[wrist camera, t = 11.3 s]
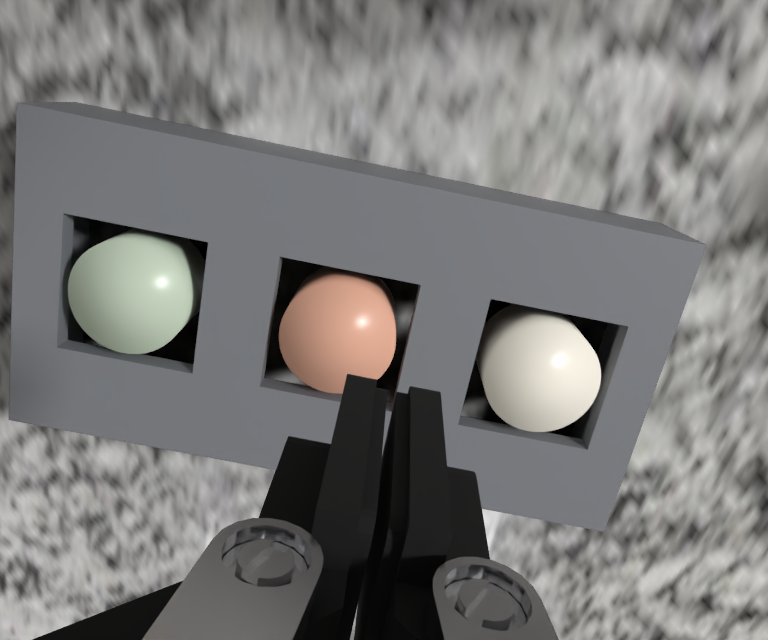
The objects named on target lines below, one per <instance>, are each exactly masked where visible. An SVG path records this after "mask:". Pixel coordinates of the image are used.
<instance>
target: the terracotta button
mask: <svg viewBox="0 0 768 640" xmlns="http://www.w3.org/2000/svg"><path fill="white" fill-rule="evenodd" d="M279 344H280V350H281V353H282V356H283V358H284V360H285V362H286V364H287V366H288V367H289V369H290V370H291V371H292V372H293V373H294V375H295V376H296V377H298V378H299V379H300V380H301V381H302V382H304V383H305V384H307V385H309V386H310V387H312V388H315V389H317V390H320V391H324V392H328V393H339V394H343V390H344V385H345V381H346V377H347V374H351V375H356V376H361V377H366V378H372V379H377V380H378V379H379V378H380V377H381V376H382V375H383V374H384V372H385V371H386V370H387V368H388V367H389V365H390V363H391V361H392V359H393V356H394V352H395V347H396V305H395V301H394V298H393V296H392V294H391V292H390V290H389V288H388V287H387V285H386V284H385V283H384V282H383V281H382V280H381V279H380V278H379V277H378V276H374V275H369V274H364V273H359V272H354V271H349V270H344V269H339V268H334V267H329V266H325V267H323V268H320V269H318V270H316V271H315V272H313V273H312V274H310V275H309V276H308V277H307V278H306V279H305V280H304V281H303V282H302V283H301V285H300V286H299V288H298V290H297V291H296V293H295V295H294V297H293V299H292V301H291V302H290V304H289V306H288V308H287V310H286V311H285V313H284V315H283V318H282V320H281V324H280V328H279Z"/></svg>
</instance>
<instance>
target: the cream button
mask: <svg viewBox="0 0 768 640" xmlns="http://www.w3.org/2000/svg"><path fill="white" fill-rule="evenodd" d="M476 361H477V365H478V369H479V372H480V376H481V379H482V383H483V386H484V390H485V393H486V396H487V399H488V401H489V404H490V405H491V407H492V409H493V410H494V411H495V413H496V414H497V415H498V416H499V417H500V418H501V419H502V420H504V421H505V422H506V423H508V424H510V425H512V426H513V427H516V428H518V429H521V430H525V431H531V432H547V431H553V430H557V429H560V428H563V427H565V426H567V425H569V424H571V423H573V422H574V421H576V420H577V419H579V418H580V417H581V416H582V415H583V414H584V413H585V412H586V411H587V410H588V409H589V408H590V406H591V405H592V404H593V402H594V400H595V398H596V396H597V394H598V391H599V387H600V382H601V368H600V363H599V360H598V357H597V355H596V353H595V351H594V349H593V348H592V347H591V345H590V344H589V343H588V341H587V340H586V339H585V337H584V336H583V335H582V334H581V332H580V331H579V330H578V328H577V327H576V326H575V325H574V323H573V322H572V321H571V319H570V318H569V317H568V316H567V315H566V314H564V313H559V312H554V311H549V310H544V309H539V308H534V307H529V306H524V305H519V304H513V305H510V306H507V307H505V308H504V309H502V310H500V311H499V312H497V313H496V314H495V315H493V316H492V317H491V318H490V319H489V320H488V322H487V323H486V324H485V326H484V327H483V331H482V335H481V338H480V342H479V346H478V350H477V354H476Z"/></svg>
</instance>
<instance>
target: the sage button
mask: <svg viewBox="0 0 768 640" xmlns="http://www.w3.org/2000/svg"><path fill="white" fill-rule="evenodd" d="M204 273H205V261H204V259H203V257H202V255H201V254H200V252H199V251H198V249H197V248H196V247H195V246H194V244H193V243H192V242H191V241H189V240H188V239H187V238H184V237H179V236H174V235H169V234H164V233H159V232H154V231H149V230H144V229H139V228H131V229H129V230H127V231H125V232H123V233H120V234H118V235H116V236H114V237H112V238H110V239H108V240H106V241H103V242H101V243H99V244H97V245H95V246H93V247H92V248H90V249H88V250H87V251H86V252H85V253H83V254H82V255H81V256H80V258H79V259H78V260H77V261H76V263H75V265H74V266H73V268H72V271H71V273H70V277H69V281H68V298H69V304H70V307H71V310H72V312H73V315H74V317H75V319H76V320H77V322H78V324H79V325H80V326H81V328H82V329H83V330H84V331H85V332H86V333H87V334H88V335H89V336H90V337H91V338H92V339H93V340H95V341H96V342H98V343H99V344H101V345H102V346H104V347H106V348H108V349H111V350H114V351H117V352H121V353H126V354H143V353H148V352H152V351H154V350H157V349H159V348H161V347H163V346H165V345H166V344H167V343H168V342H170V341H171V340H172V339H173V338H174V337H175V336H176V335H177V334H178V333H179V332H180V330H181V329H182V328H183V327H184V326H185V325H186V324H187V323H188V322H189V321H190V320H191V319H192V318H193V317H194V316H195V315H196V314H197V313H198V312H199V310H200V306H201V298H202V289H203V281H204Z"/></svg>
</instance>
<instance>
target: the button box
mask: <svg viewBox="0 0 768 640" xmlns="http://www.w3.org/2000/svg"><path fill="white" fill-rule="evenodd" d="M91 219H94V220H99V221H104V222H109V223H114V224H119V225H124V226H129V227H134V228H139V229H144V230H149V231H154V232H159V233H164V234H169V235H174V236H179V237H184V238H189V239H194V240H199V241H204V242H208V248H207V256H206V264H205V273H204V281H203V289H202V298H201V306H200V315H199V323H198V331H197V340H196V348H195V357H194V364H190V363H185V362H180V361H175V360H169V359H164V358H159V357H154V356H149V355H144V354H126V353H121V352H117V351H114V350H111V349H108V348H106V347H102V346H97V345H92V344H87V343H83V333H84V330H83V329H82V328H81V326H80V325H79V324H78V322H77V320H76V319H75V317H74V315H73V312H72V310H71V307H70V304H69V298H68V281H69V277H70V273H71V271H72V268H73V266H74V265H75V263H76V261H77V260H78V259H79V258H80V256H81V255H82V254H83V253H85V252H86V251H87V250H88V249H89V237H90V221H91ZM705 248H706V244H704V243H702V242H700V241H697V240H695V239H693V238H691V237H689V236H687V235H685V234H683V233H680V232H678V231H676V230H674V229H672V228H670V227H668V226H666V225H663V224H661V223H657V222H652V221H647V220H642V219H637V218H632V217H628V216H623V215H618V214H613V213H608V212H603V211H599V210H594V209H589V208H584V207H579V206H574V205H570V204H565V203H560V202H555V201H550V200H545V199H541V198H536V197H531V196H526V195H521V194H517V193H512V192H507V191H502V190H497V189H492V188H488V187H483V186H478V185H473V184H468V183H463V182H459V181H454V180H449V179H444V178H439V177H434V176H430V175H425V174H420V173H415V172H410V171H405V170H401V169H396V168H391V167H386V166H381V165H376V164H372V163H367V162H362V161H357V160H352V159H347V158H343V157H338V156H333V155H328V154H323V153H318V152H314V151H309V150H304V149H299V148H294V147H289V146H285V145H280V144H275V143H270V142H265V141H260V140H256V139H251V138H246V137H241V136H236V135H231V134H227V133H222V132H217V131H212V130H207V129H202V128H198V127H193V126H188V125H183V124H178V123H173V122H169V121H164V120H159V119H154V118H149V117H145V116H140V115H135V114H130V113H125V112H120V111H116V110H111V109H106V108H101V107H96V106H91V105H87V104H82V103H77V102H31V103H17V118H16V156H15V195H14V234H13V272H12V311H11V350H10V388H9V420H13V421H18V422H23V423H29V424H34V425H39V426H45V427H50V428H55V429H61V430H66V431H71V432H76V433H82V434H87V435H92V436H98V437H103V438H108V439H114V440H119V441H124V442H130V443H135V444H140V445H146V446H151V447H156V448H162V449H167V450H172V451H178V452H183V453H188V454H194V455H199V456H204V457H210V458H215V459H220V460H226V461H231V462H236V463H242V464H247V465H252V466H258V467H263V468H268V469H274V470H276V468H277V466H278V463H279V460H280V457H281V455H282V452H283V449H284V446H285V443H286V441H287V438H288V436H292V437H297V438H302V439H307V440H313V441H318V442H323V443H328V444H331V442H332V437H333V433H334V429H335V424H336V420H337V416H338V411H339V407H340V403H341V398H342V394H339V393H328V392H324V391H320V390H317V389H315V388H312V387H309V386H304V385H299V384H294V383H289V382H283V381H278V380H273V379H268V378H264V375H265V368H266V362H267V355H268V349H269V343H270V336H271V330H272V323H273V317H274V310H275V304H276V298H277V291H278V285H279V278H280V272H281V266H282V259H283V257H284V258H289V259H294V260H299V261H304V262H309V263H314V264H319V265H324V266H329V267H334V268H339V269H344V270H349V271H354V272H359V273H364V274H369V275H374V276H379V277H384V278H389V279H394V280H399V281H404V282H409V283H414V284H419V287H418V292H417V296H416V301H415V305H414V310H413V314H412V318H411V323H410V327H409V332H408V336H407V341H406V345H405V350H404V354H403V359H402V363H401V367H400V372H399V376H398V381H397V385H396V390H395V394H394V399H393V403H392V402H386V414H385V425H384V437H383V448H382V455H383V450H384V445H385V441H386V436H387V432H388V427H389V423H390V418H391V414H392V409H393V405H394V400H395V396H396V393H397V392H401V393H406V394H408V390H409V387H410V386H413V387H418V388H423V389H428V390H433V391H439V392H440V393H441V401H442V413H443V424H444V436H445V447H446V459H447V466H448V467H454V468H459V469H464V470H469V471H474V472H475V473H476V477H477V483H478V489H479V495H480V501H481V508H482V509H487V510H492V511H497V512H503V513H508V514H513V515H519V516H524V517H529V518H535V519H540V520H545V521H551V522H556V523H561V524H567V525H572V526H577V527H582V528H588V529H593V530H598V531H604V530H605V527H606V525H607V522H608V519H609V516H610V513H611V511H612V508H613V505H614V502H615V500H616V497H617V494H618V491H619V488H620V486H621V483H622V480H623V477H624V474H625V472H626V469H627V466H628V463H629V460H630V458H631V455H632V452H633V449H634V446H635V444H636V441H637V438H638V435H639V432H640V430H641V427H642V424H643V421H644V418H645V416H646V413H647V410H648V407H649V405H650V402H651V399H652V396H653V393H654V391H655V388H656V385H657V382H658V379H659V377H660V374H661V371H662V368H663V365H664V363H665V360H666V357H667V354H668V351H669V349H670V346H671V343H672V340H673V337H674V335H675V332H676V329H677V326H678V324H679V321H680V318H681V315H682V312H683V310H684V307H685V304H686V301H687V298H688V296H689V293H690V290H691V287H692V284H693V282H694V279H695V276H696V273H697V270H698V268H699V265H700V262H701V259H702V256H703V254H704V251H705ZM491 299H494V300H499V301H504V302H509V303H514V304H519V305H524V306H529V307H534V308H539V309H544V310H549V311H554V312H559V313H564V314H569V315H574V316H579V317H584V318H589V319H594V320H599V321H603V322H608V323H607V326H606V329H605V332H604V335H603V339H602V342H601V345H600V348H599V351H598V354H597V357H598V360H599V363H600V368H601V382H600V387H599V391H598V394H597V396H596V398H595V400H594V402H593V404H592V405H591V406H590V408H589V409H588V410H587V411H586V412H585V413H584V414H583V415H582V416H581V417H580V418H579V419H577V420H576V422H575V425H574V428H573V432H572V435H571V437H568V436H563V435H558V434H553V433H548V432H531V431H525V430H521V429H518V428H516V427H513V426H511V425H506V424H501V423H496V422H491V421H485V420H480V419H475V418H470V417H465V416H460V415H461V411H462V407H463V404H464V400H465V396H466V392H467V388H468V384H469V381H470V377H471V373H472V369H473V365H474V361H475V358H476V354H477V350H478V346H479V342H480V338H481V335H482V331H483V327H484V323H485V319H486V316H487V312H488V308H489V304H490V300H491Z"/></svg>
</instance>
